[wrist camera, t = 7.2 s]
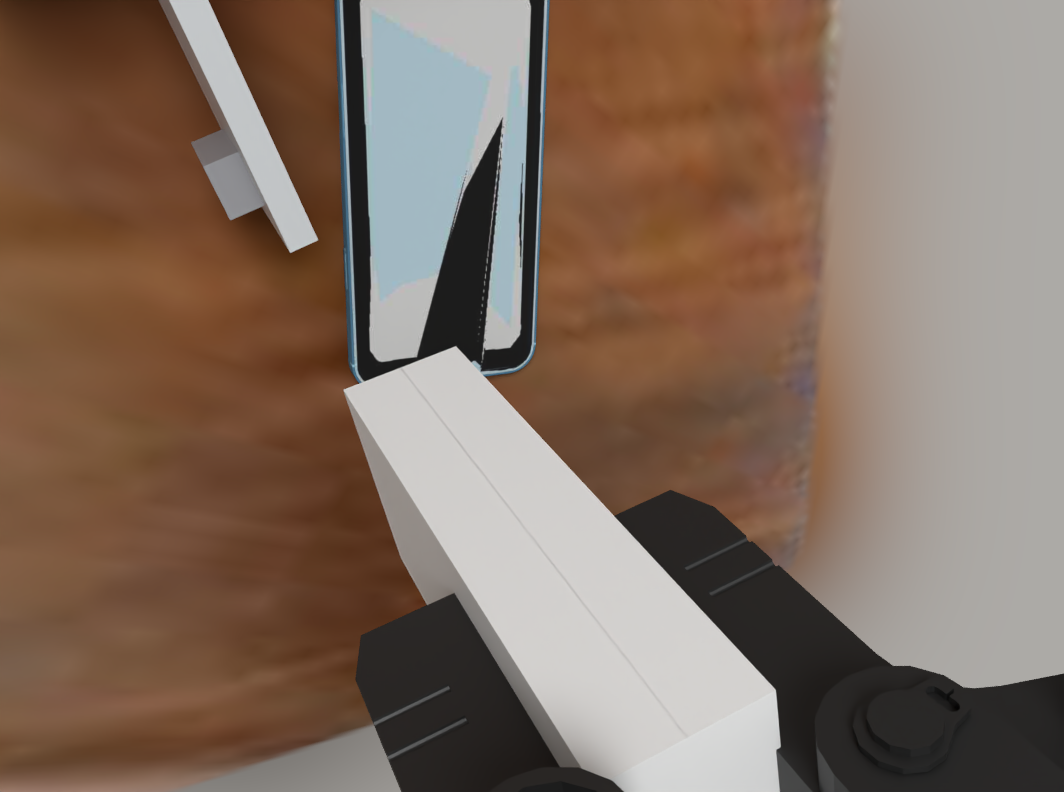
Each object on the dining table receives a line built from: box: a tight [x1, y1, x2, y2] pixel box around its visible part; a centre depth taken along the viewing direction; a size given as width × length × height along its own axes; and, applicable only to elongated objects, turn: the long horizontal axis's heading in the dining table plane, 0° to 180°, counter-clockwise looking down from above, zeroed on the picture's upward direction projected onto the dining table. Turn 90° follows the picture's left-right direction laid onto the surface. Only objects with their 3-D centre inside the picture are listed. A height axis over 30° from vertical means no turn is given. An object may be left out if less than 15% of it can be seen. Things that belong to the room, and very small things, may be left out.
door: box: [159, 0, 318, 253], centre depth 26 cm, size 10×2×7 cm, turn 18°
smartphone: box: [334, 0, 550, 383], centre depth 36 cm, size 7×1×15 cm
